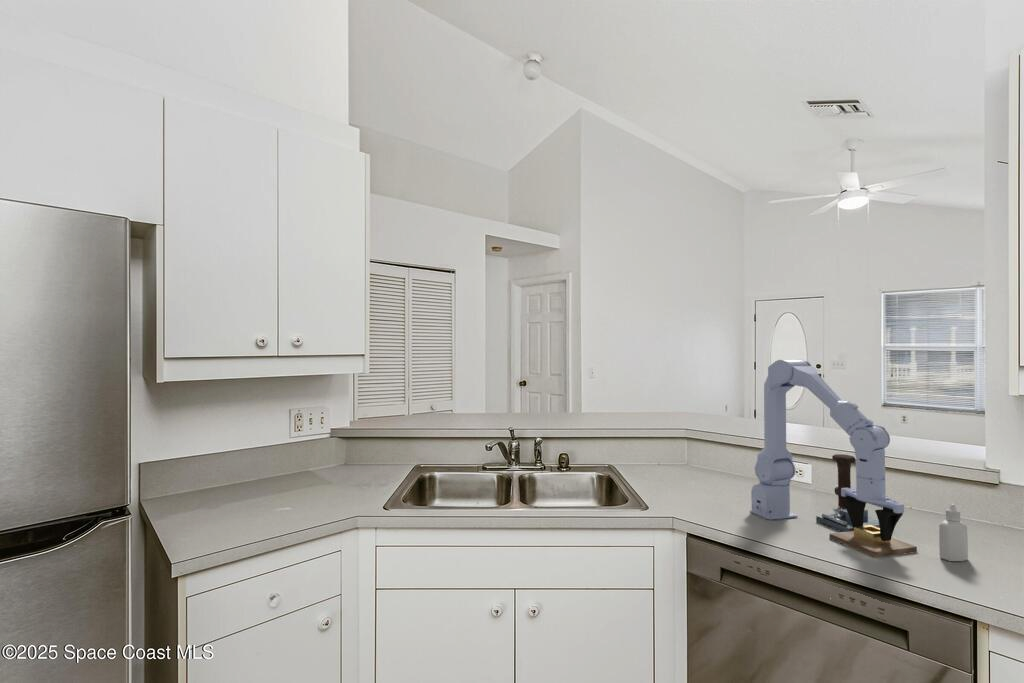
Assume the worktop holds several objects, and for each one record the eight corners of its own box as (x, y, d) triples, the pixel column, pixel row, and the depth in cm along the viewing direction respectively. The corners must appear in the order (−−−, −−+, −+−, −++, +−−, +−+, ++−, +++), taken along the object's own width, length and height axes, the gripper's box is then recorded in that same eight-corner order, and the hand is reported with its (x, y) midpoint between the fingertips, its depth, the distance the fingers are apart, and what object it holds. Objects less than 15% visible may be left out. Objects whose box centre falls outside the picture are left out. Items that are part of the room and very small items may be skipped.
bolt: (858, 510, 148) (857, 458, 148) (839, 509, 149) (838, 457, 149) (849, 504, 153) (848, 454, 153) (831, 503, 154) (830, 453, 154)
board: (875, 557, 115) (875, 552, 115) (829, 538, 126) (829, 533, 126) (916, 552, 118) (916, 546, 118) (868, 533, 129) (868, 529, 129)
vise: (849, 534, 129) (848, 506, 129) (816, 521, 139) (815, 495, 139) (893, 529, 132) (892, 501, 133) (858, 517, 142) (857, 491, 142)
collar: (873, 544, 119) (873, 533, 119) (854, 537, 124) (853, 526, 124) (890, 542, 120) (890, 531, 120) (870, 535, 125) (870, 524, 125)
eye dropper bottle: (933, 553, 117) (932, 500, 117) (963, 556, 115) (962, 502, 115) (943, 561, 112) (942, 506, 113) (975, 564, 111) (973, 508, 111)
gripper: (914, 483, 116) (915, 544, 116) (856, 469, 130) (857, 523, 130) (889, 485, 114) (890, 547, 114) (833, 471, 128) (834, 525, 128)
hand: (871, 534), depth 122 cm, fingers open, 7 cm apart
